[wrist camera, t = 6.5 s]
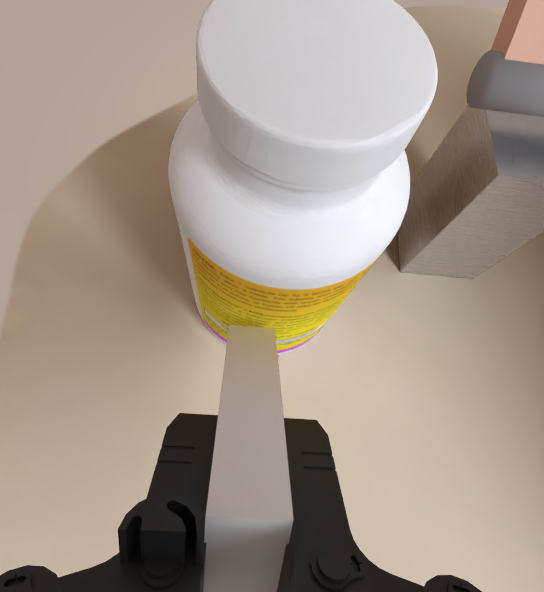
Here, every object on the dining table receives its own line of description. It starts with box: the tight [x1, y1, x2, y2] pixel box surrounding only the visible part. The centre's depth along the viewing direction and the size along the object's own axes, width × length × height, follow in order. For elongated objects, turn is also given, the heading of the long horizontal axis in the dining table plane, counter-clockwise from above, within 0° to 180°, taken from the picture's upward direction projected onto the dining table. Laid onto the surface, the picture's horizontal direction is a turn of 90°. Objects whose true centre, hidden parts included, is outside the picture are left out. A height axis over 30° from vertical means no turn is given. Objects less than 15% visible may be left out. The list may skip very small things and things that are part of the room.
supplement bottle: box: [168, 0, 438, 355], centre depth 13 cm, size 7×7×13 cm
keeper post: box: [397, 105, 544, 278], centre depth 17 cm, size 4×4×8 cm
